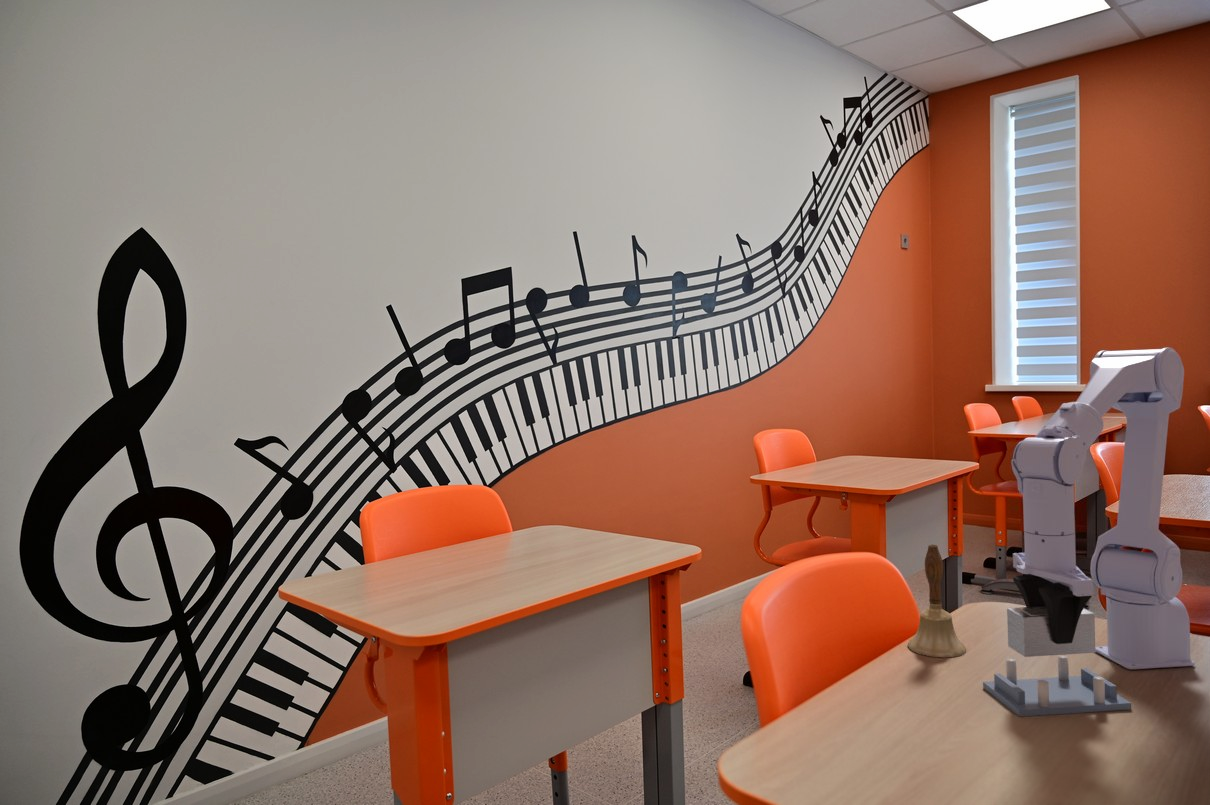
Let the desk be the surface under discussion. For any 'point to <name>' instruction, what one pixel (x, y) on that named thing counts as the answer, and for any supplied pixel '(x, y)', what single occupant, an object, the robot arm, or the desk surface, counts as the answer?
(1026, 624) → the block
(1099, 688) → the grey peg stand
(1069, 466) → the robot arm
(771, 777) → the desk surface
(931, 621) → the hand bell
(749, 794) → the desk surface
